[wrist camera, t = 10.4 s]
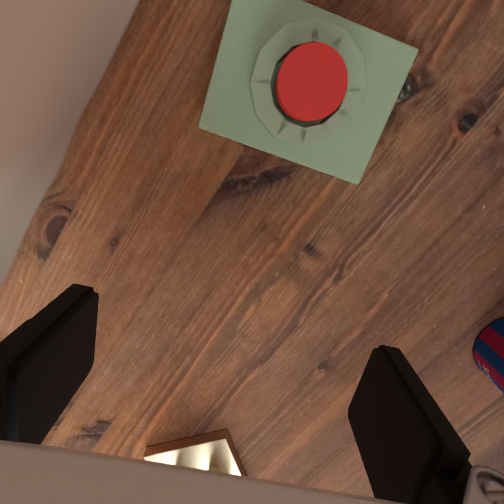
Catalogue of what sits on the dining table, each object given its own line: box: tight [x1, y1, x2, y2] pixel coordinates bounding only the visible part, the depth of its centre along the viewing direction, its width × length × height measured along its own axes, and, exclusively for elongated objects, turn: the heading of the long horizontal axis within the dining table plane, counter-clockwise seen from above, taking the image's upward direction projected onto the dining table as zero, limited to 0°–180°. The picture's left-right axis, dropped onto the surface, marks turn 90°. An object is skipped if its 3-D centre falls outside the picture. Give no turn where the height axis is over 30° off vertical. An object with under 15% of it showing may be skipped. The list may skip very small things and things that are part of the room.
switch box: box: [198, 0, 419, 185], centre depth 22 cm, size 12×9×4 cm
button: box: [275, 42, 348, 122], centre depth 19 cm, size 4×4×2 cm
